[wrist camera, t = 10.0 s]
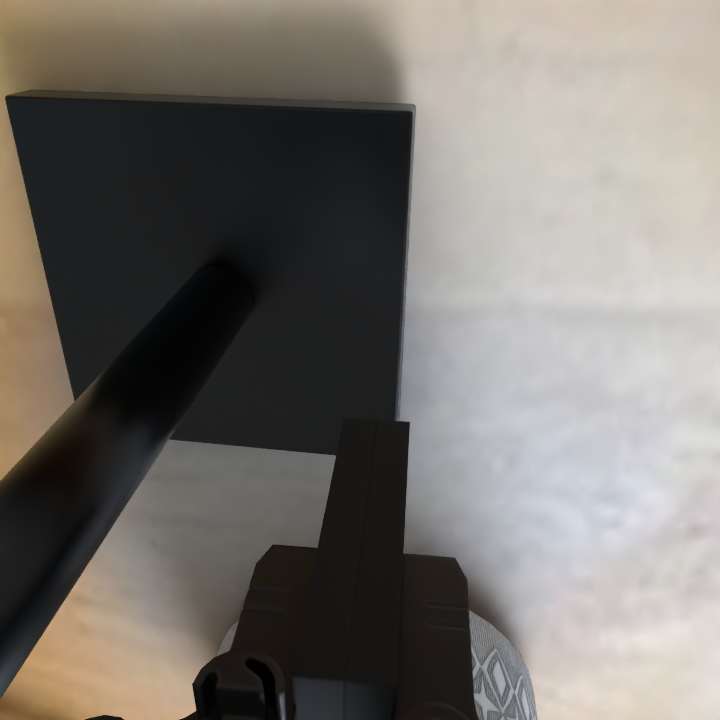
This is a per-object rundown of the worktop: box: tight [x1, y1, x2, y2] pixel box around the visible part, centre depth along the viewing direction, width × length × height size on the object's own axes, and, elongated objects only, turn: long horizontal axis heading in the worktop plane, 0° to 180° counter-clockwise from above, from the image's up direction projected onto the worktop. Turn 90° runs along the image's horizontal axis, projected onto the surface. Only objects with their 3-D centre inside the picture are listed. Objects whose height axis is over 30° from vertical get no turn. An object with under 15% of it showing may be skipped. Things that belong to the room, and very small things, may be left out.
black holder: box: [0, 90, 416, 699], centre depth 15 cm, size 25×13×13 cm
